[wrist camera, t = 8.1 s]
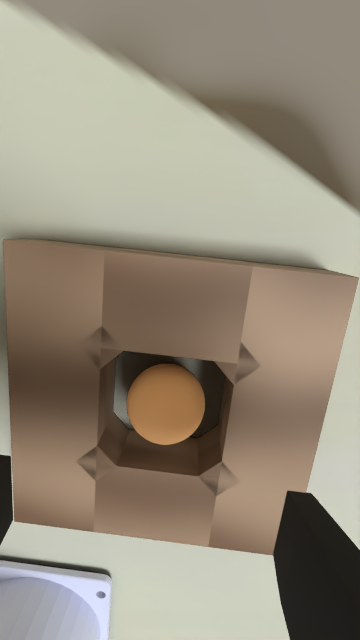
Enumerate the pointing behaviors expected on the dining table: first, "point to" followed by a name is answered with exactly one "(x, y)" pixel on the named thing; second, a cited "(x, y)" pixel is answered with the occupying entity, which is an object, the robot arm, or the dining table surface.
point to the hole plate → (171, 340)
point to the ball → (165, 404)
